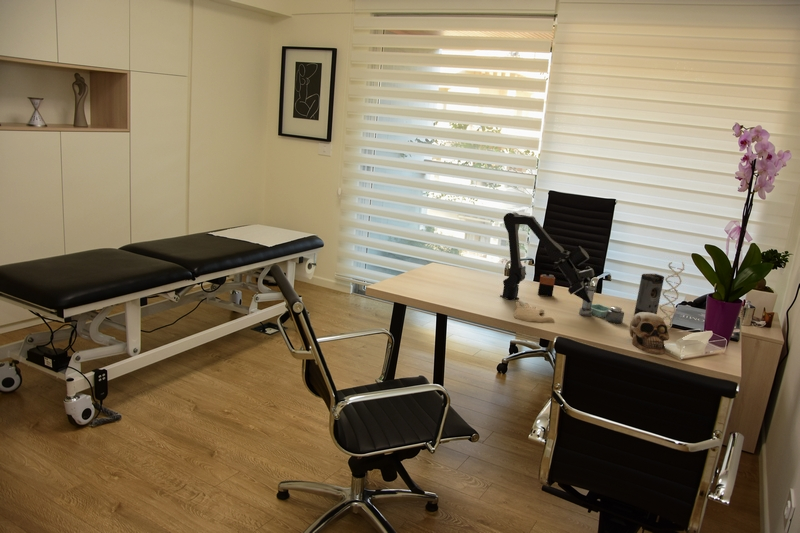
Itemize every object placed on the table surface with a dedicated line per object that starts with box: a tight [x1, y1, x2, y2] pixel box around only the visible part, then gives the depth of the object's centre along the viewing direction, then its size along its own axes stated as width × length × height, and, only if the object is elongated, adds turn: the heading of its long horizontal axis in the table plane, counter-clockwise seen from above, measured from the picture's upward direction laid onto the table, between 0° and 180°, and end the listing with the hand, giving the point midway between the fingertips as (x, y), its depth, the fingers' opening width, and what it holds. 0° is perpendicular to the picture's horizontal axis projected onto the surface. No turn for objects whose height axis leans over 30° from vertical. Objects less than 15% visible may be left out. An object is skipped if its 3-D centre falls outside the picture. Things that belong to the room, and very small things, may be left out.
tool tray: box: [591, 303, 611, 318], centre depth 273 cm, size 10×10×3 cm
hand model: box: [513, 301, 555, 323], centre depth 258 cm, size 19×5×20 cm
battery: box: [537, 273, 556, 298], centre depth 295 cm, size 4×7×10 cm, turn 75°
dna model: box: [659, 261, 685, 330], centre depth 250 cm, size 7×6×30 cm
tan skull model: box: [628, 312, 670, 355], centre depth 235 cm, size 16×17×13 cm
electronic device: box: [633, 273, 665, 316], centre depth 270 cm, size 9×6×20 cm, turn 117°
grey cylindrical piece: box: [578, 285, 596, 318], centre depth 267 cm, size 5×5×12 cm
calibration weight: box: [604, 305, 625, 325], centre depth 262 cm, size 7×7×6 cm
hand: (590, 301), depth 266 cm, fingers open, 5 cm apart
